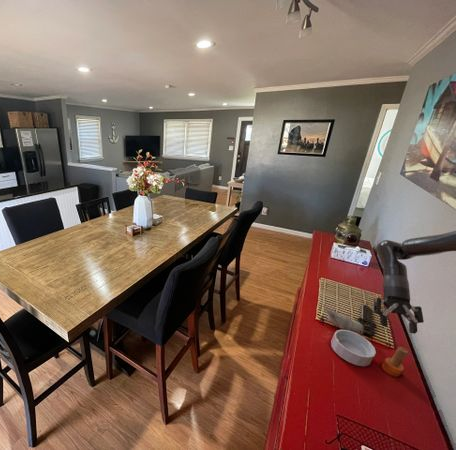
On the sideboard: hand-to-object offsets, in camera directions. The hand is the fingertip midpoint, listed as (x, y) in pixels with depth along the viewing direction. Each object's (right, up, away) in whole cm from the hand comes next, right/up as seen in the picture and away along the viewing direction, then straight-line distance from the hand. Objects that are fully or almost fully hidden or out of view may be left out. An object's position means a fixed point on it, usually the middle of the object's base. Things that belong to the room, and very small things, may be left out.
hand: (398, 329), depth 91 cm
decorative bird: (-7, -8, +20) cm, 22 cm away
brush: (-3, -16, 0) cm, 16 cm away
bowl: (-13, -13, +7) cm, 19 cm away
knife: (+9, -6, +25) cm, 27 cm away
